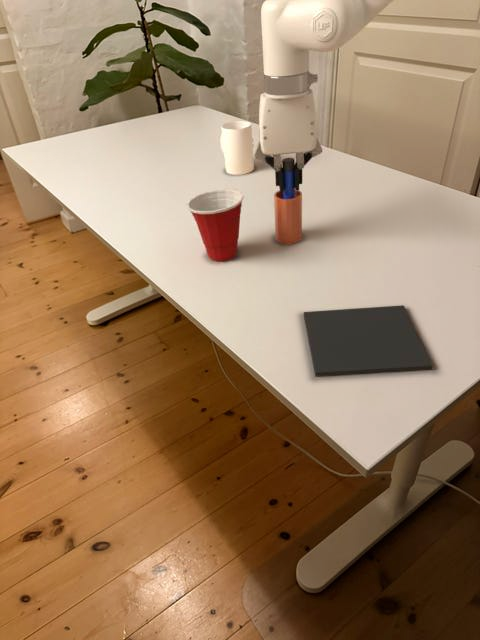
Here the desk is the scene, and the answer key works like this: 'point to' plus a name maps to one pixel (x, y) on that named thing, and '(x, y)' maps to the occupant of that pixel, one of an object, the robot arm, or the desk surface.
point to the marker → (289, 177)
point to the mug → (237, 147)
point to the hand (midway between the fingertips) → (289, 187)
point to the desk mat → (364, 341)
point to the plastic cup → (218, 221)
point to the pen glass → (288, 218)
